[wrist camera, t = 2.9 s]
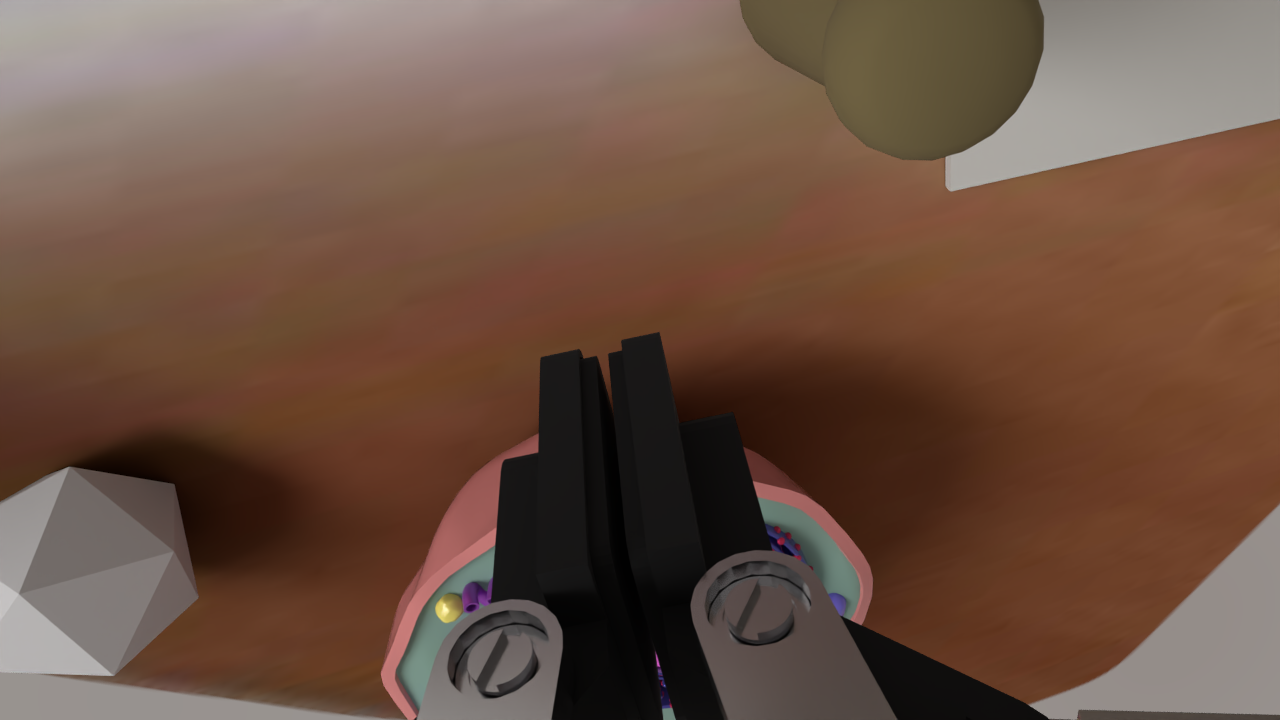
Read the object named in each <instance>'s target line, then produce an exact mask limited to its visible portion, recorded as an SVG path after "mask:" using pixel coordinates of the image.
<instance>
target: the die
mask: <svg viewBox="0 0 1280 720" xmlns="http://www.w3.org/2000/svg"><path fill="white" fill-rule="evenodd" d="M198 598H199V596H198V592H197V587H196V582H195V578H194V573H193V568H192V564H191V559H190V554H189V550H188V545H187V540H186V536H185V531H184V526H183V522H182V517H181V512H180V508H179V503H178V498H177V494H176V489H175V484H171V483H165V482H159V481H153V480H147V479H141V478H135V477H129V476H123V475H117V474H111V473H105V472H99V471H93V470H87V469H81V468H75V467H67V468H65V469H62V470H59V471H56V472H54V473H51V474H48V475H46V476H44V477H43V478H41V479H39V480H37V481H36V482H34V483H32V484H30V485H29V486H27V487H25V488H24V489H22V490H20V491H18V492H17V493H15V494H13V495H11V496H10V497H8V498H6V499H4V500H3V501H1V502H0V672H13V673H43V674H74V675H104V676H114V675H115V674H116V673H117V672H119V671H120V670H121V669H122V668H123V667H124V666H125V665H126V664H127V663H128V662H129V661H131V660H132V659H133V658H134V657H135V656H136V655H137V654H138V653H139V652H140V651H141V650H142V649H144V648H145V647H146V646H147V645H148V644H149V643H150V642H151V641H152V640H153V639H154V638H155V637H157V636H158V635H159V634H160V633H161V632H162V631H163V630H164V629H165V628H166V627H167V626H168V625H170V624H171V623H172V622H173V621H174V620H175V619H176V618H177V617H178V616H179V615H180V614H182V613H183V612H184V611H185V610H186V609H187V608H188V607H189V606H190V605H191V604H192V603H193V602H195V601H196V600H197V599H198Z"/></svg>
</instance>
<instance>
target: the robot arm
mask: <svg viewBox="0 0 1280 720" xmlns="http://www.w3.org/2000/svg"><path fill="white" fill-rule="evenodd" d="M621 343H622V351H618V352H613V353H609V354H608V357H609V368H610V378H611V389H612V399H613V410H614V415H613V412H612V408H611V404H610V400H609V397H608V393H607V389H606V386H605V382H604V378H603V375H602V371H601V367H600V364H599V361H598V358H597V356H594V357H590V358H585V359H584V358H583V355H582V353H581V351H580V349H577V350H573V351H568V352H563V353H559V354H554V355H549V356H545V357H542V358H541V360H540V397H539V442H538V453H533V454H528V455H523V456H519V457H514V458H509V459H505V460H504V461H503V462H502V467H501V475H500V488H499V501H498V515H497V528H496V541H495V554H494V567H493V581H492V594H491V604H489V605H487V606H484V607H482V608H480V609H478V610H476V611H474V612H472V613H471V614H469V615H468V616H467V617H465V618H464V619H463V620H461V621H460V622H459V623H457V624H456V625H455V627H454V628H453V629H452V630H451V631H450V633H449V634H448V635H447V636H446V637H445V639H444V640H443V642H442V644H441V646H440V648H439V650H438V653H437V655H436V657H435V660H434V663H433V667H432V670H431V673H430V677H429V680H428V683H427V687H426V690H425V693H424V697H423V700H422V704H421V707H420V710H419V714H418V716H417V717H416V718H415V719H414V720H663V710H662V702H661V693H660V685H659V676H658V668H657V659H656V655H657V658H658V661H659V665H660V668H661V672H662V675H663V678H664V682H665V685H666V689H667V692H668V695H669V699H670V702H671V706H672V709H673V712H674V716H675V719H676V720H1068V719H1048V718H1047V717H1046V716H1044V715H1043V714H1041V713H1040V712H1038V711H1037V710H1035V709H1034V708H1032V707H1030V706H1029V705H1027V704H1026V703H1024V702H1022V701H1020V700H1018V699H1015V698H1013V697H1011V696H1009V695H1007V694H1005V693H1003V692H1001V691H999V690H997V689H994V688H992V687H990V686H988V685H986V684H984V683H982V682H980V681H978V680H975V679H973V678H971V677H969V676H967V675H965V674H963V673H961V672H959V671H957V670H954V669H952V668H950V667H948V666H946V665H944V664H942V663H940V662H938V661H935V660H933V659H931V658H929V657H927V656H925V655H923V654H921V653H919V652H917V651H914V650H912V649H910V648H908V647H906V646H904V645H902V644H900V643H898V642H895V641H893V640H891V639H889V638H887V637H885V636H883V635H881V634H879V633H876V632H874V631H872V630H870V629H868V628H866V627H864V626H862V625H860V624H858V623H855V622H853V621H851V620H849V619H847V618H845V617H843V616H841V615H839V613H838V611H837V609H836V607H835V606H834V604H833V602H832V600H831V598H830V596H829V595H828V593H827V591H826V589H825V587H824V586H823V584H822V582H821V580H820V579H819V578H818V577H817V575H816V574H815V573H814V572H813V570H812V569H811V568H810V567H809V566H808V565H806V564H805V563H803V562H801V561H800V560H798V559H797V558H795V557H793V556H790V555H787V554H783V553H780V552H777V551H773V550H772V546H771V543H770V539H769V536H768V532H767V529H766V525H765V522H764V518H763V515H762V511H761V508H760V504H759V501H758V497H757V494H756V490H755V487H754V483H753V480H752V476H751V473H750V469H749V466H748V462H747V458H746V455H745V451H744V448H743V444H742V441H741V437H740V434H739V430H738V427H737V423H736V420H735V417H734V414H733V412H730V413H726V414H721V415H716V416H711V417H706V418H701V419H697V420H692V421H687V422H682V423H679V419H678V414H677V410H676V405H675V401H674V396H673V392H672V387H671V382H670V378H669V373H668V369H667V364H666V360H665V355H664V350H663V346H662V341H661V337H660V333H659V332H658V333H653V334H648V335H643V336H639V337H634V338H629V339H625V340H622V341H621ZM1077 720H1280V715H1260V714H1221V713H1183V712H1144V711H1142V712H1141V711H1105V710H1079V711H1078V717H1077Z"/></svg>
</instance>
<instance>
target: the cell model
mask: <svg viewBox="0 0 1280 720" xmlns="http://www.w3.org/2000/svg"><path fill="white" fill-rule="evenodd" d="M538 442H539V433H537V434H535V435H533V436H532V437H530V438H528V439H526V440H524V441H523V442H521V443H519V444H517V445H516V446H514V447H512V448H510V449H508V450H507V451H505V452H503V453H501V454H500V455H498V456H496V457H495V458H493V459H492V460H490V461H489V462H487V463H486V464H485V465H484V466H482V467H481V468H480V469H479V470H478V471H477V472H475V473H474V474H473V475H472V476H471V477H470V479H469V480H468V481H467V482H466V483H465V484H464V486H463V487H462V488H461V489H460V491H459V492H458V493H457V495H456V496H455V498H454V499H453V501H452V502H451V504H450V505H449V507H448V509H447V511H446V513H445V515H444V516H443V518H442V520H441V522H440V524H439V526H438V528H437V530H436V532H435V534H434V537H433V540H432V542H431V545H430V548H429V551H428V554H427V556H426V558H425V560H424V561H423V563H422V565H421V567H420V568H419V570H418V572H417V573H416V575H415V576H414V578H413V579H412V581H411V582H410V584H409V585H408V587H407V588H406V590H405V592H404V594H403V596H402V598H401V600H400V603H399V605H398V608H397V610H396V613H395V617H394V621H393V625H392V629H391V633H390V637H389V641H388V645H387V650H386V654H385V658H384V662H383V666H382V670H381V677H382V681H383V685H384V687H385V688H386V690H387V691H388V693H389V694H390V696H391V697H392V699H393V700H394V702H395V703H396V704H397V706H398V707H399V708H400V709H401V711H402V712H403V713H404V715H405V716H406V717H407V719H408V720H414V719H415V718H416V717H417V716H418V714H419V710H420V707H421V704H422V700H423V697H424V693H425V690H426V687H427V683H428V680H429V677H430V673H431V670H432V667H433V663H434V660H435V657H436V655H437V653H438V650H439V648H440V646H441V644H442V642H443V640H444V639H445V637H446V636H447V635H448V634H449V633H450V631H451V630H452V629H453V628H454V627H455V625H456V624H457V623H459V622H460V621H461V620H463V619H464V618H465V617H467V616H468V615H469V614H471V613H472V612H474V611H476V610H478V609H480V608H482V607H484V606H487V605H489V604H491V594H492V581H493V567H494V554H495V541H496V528H497V515H498V501H499V488H500V475H501V467H502V462H503V461H504V460H505V459H509V458H514V457H519V456H523V455H528V454H533V453H538ZM743 448H744V451H745V455H746V458H747V462H748V466H749V469H750V473H751V476H752V480H753V483H754V487H755V490H756V494H757V497H758V501H759V504H760V508H761V511H762V515H763V518H764V522H765V525H766V529H767V532H768V536H769V539H770V543H771V546H772V550H773V551H777V552H780V553H783V554H787V555H790V556H793V557H795V558H797V559H798V560H800V561H801V562H803V563H805V564H806V565H808V566H809V567H810V568H811V569H812V570H813V572H814V573H815V574H816V575H817V577H818V578H819V579H820V580H821V582H822V584H823V586H824V587H825V589H826V591H827V593H828V595H829V596H830V598H831V600H832V602H833V604H834V606H835V607H836V609H837V611H838V613H839V615H841V616H843V617H845V618H847V619H849V620H851V621H853V622H855V623H858V624H860V625H862V623H863V621H864V619H865V616H866V613H867V610H868V607H869V604H870V601H871V598H872V589H873V577H872V573H871V569H870V566H869V564H868V562H867V561H866V559H865V557H864V555H863V554H862V553H861V551H860V550H859V549H858V547H857V546H856V545H855V543H854V542H853V541H852V540H851V538H850V537H849V536H848V534H847V533H846V532H845V531H844V530H843V529H842V528H841V527H840V526H839V525H838V523H837V522H836V521H835V520H834V519H833V518H832V517H831V516H830V515H829V514H828V513H827V511H826V510H825V509H824V508H823V507H822V506H821V505H820V504H819V503H818V502H817V501H815V500H814V499H813V498H812V497H811V496H810V495H809V494H808V493H807V492H806V491H805V490H804V489H803V488H802V487H800V486H799V485H798V484H797V483H796V482H795V481H793V480H792V479H791V478H790V477H789V476H787V475H786V474H785V473H784V472H783V471H781V470H780V469H779V468H778V467H777V466H775V465H774V464H773V463H771V462H770V461H768V460H767V459H766V458H764V457H763V456H761V455H759V454H758V453H756V452H754V451H752V450H751V449H749V448H747V447H745V446H743ZM656 659H657V668H658V676H659V685H660V693H661V702H662V710H663V720H676V719H675V716H674V712H673V709H672V706H671V702H670V699H669V695H668V692H667V689H666V685H665V682H664V678H663V675H662V672H661V668H660V665H659V661H658V658H657V655H656Z"/></svg>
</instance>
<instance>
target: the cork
mask: <svg viewBox="0 0 1280 720" xmlns="http://www.w3.org/2000/svg"><path fill="white" fill-rule="evenodd" d="M740 5H741V11H742V16H743V19H744V21H745V23H746V25H747V27H748V29H749V30H750V32H751V34H752V36H753V38H754V40H755V42H756V43H757V44H758V45H759V46H761V47H762V48H763V49H764V50H765V51H766V52H767V53H768V54H769V55H771V56H772V57H773V58H774V59H775V60H777V61H779V62H781V63H782V64H784V65H786V66H788V67H790V68H792V69H794V70H796V71H797V72H799V73H801V74H803V75H805V76H807V77H809V78H811V79H812V80H814V81H816V82H818V83H820V84H822V85H824V86H825V88H826V94H827V96H828V98H829V100H830V102H831V104H832V106H833V108H834V110H835V112H836V113H837V115H838V117H839V119H840V121H841V122H842V123H843V124H844V126H845V127H846V128H847V129H848V130H849V131H850V132H852V133H853V134H854V135H855V136H856V137H857V138H858V139H859V140H860V141H862V142H863V143H864V144H865V145H866V146H867V147H870V148H873V149H875V150H878V151H880V152H883V153H886V154H888V155H891V156H893V157H896V158H900V159H903V160H936V159H939V158H943V157H947V156H950V155H954V154H957V153H961V152H963V151H965V150H967V149H969V148H971V147H972V146H974V145H976V144H977V143H979V142H981V141H983V140H984V139H986V138H988V137H989V136H991V135H993V134H994V133H995V132H996V131H997V130H998V129H999V128H1000V127H1001V126H1002V125H1003V124H1004V123H1005V122H1006V121H1007V120H1008V119H1009V118H1011V117H1012V116H1013V115H1014V114H1015V113H1016V111H1017V110H1018V108H1019V106H1020V105H1021V103H1022V102H1023V100H1024V98H1025V97H1026V95H1027V94H1028V92H1029V90H1030V89H1031V87H1032V85H1033V82H1034V79H1035V76H1036V73H1037V69H1038V66H1039V63H1040V60H1041V57H1042V53H1043V50H1044V15H1043V12H1042V9H1041V6H1040V3H1039V0H740Z"/></svg>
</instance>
